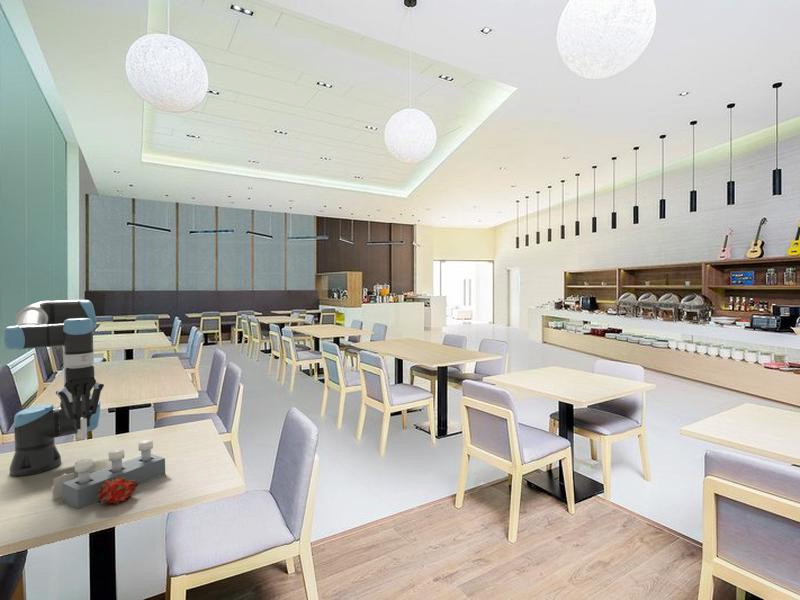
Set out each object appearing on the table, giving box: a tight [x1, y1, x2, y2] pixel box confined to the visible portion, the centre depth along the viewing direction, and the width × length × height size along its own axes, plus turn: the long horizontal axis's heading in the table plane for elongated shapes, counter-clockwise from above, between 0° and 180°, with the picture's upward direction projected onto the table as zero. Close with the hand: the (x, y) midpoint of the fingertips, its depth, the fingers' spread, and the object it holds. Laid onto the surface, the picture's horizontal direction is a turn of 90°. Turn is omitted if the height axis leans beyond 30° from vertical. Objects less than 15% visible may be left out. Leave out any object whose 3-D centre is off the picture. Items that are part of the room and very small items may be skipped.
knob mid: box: [107, 448, 125, 473], centre depth 148 cm, size 5×5×8 cm
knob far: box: [137, 439, 154, 462], centre depth 157 cm, size 5×5×8 cm
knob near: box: [74, 458, 93, 485], centre depth 140 cm, size 5×5×8 cm
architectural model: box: [51, 472, 75, 500], centre depth 144 cm, size 3×7×7 cm, turn 141°
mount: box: [62, 453, 166, 509], centre depth 148 cm, size 10×28×6 cm, turn 150°
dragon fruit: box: [96, 477, 139, 505], centre depth 138 cm, size 8×8×12 cm
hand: (82, 437), depth 139 cm, fingers closed
